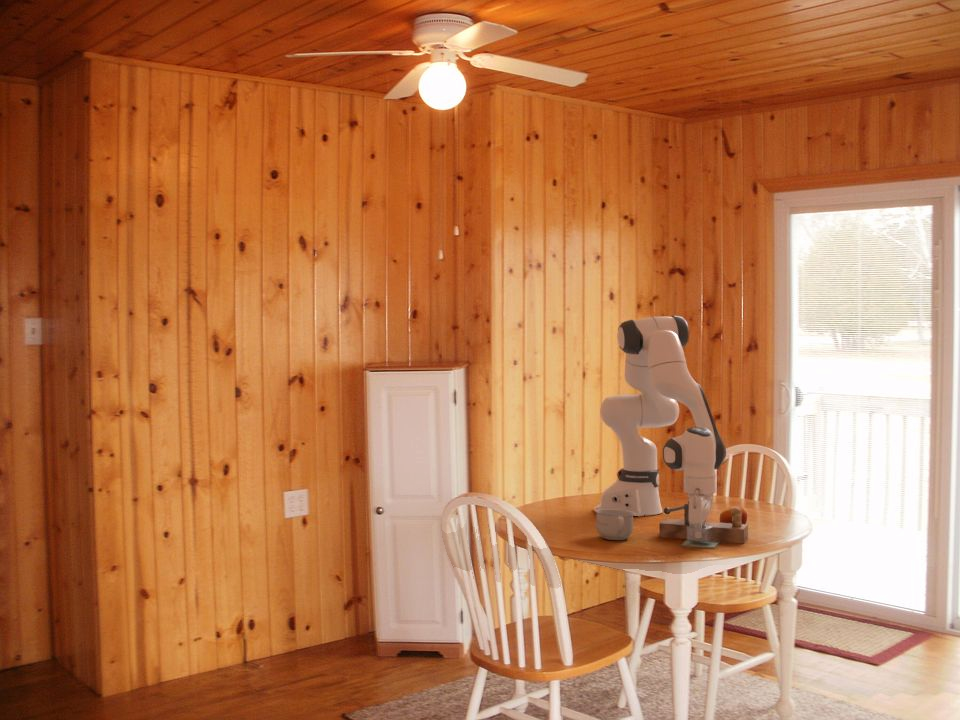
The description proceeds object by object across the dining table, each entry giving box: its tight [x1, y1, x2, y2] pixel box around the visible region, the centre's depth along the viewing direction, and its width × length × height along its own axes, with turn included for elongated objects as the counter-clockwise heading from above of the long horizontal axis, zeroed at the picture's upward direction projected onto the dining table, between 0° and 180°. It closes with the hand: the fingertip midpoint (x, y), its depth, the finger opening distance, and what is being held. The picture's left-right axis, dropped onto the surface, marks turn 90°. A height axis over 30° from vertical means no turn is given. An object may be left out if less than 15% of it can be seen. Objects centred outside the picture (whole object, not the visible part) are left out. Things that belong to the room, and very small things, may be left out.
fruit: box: [719, 505, 748, 525], centre depth 286 cm, size 8×8×8 cm
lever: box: [663, 504, 684, 515], centre depth 277 cm, size 12×3×7 cm
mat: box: [681, 539, 720, 549], centre depth 266 cm, size 9×7×1 cm
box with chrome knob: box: [686, 525, 714, 542], centre depth 266 cm, size 6×4×4 cm
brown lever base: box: [658, 500, 749, 544], centre depth 275 cm, size 24×7×10 cm, turn 65°
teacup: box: [595, 509, 634, 541], centre depth 275 cm, size 14×11×8 cm
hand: (700, 535), depth 266 cm, fingers closed on box with chrome knob, 5 cm apart
